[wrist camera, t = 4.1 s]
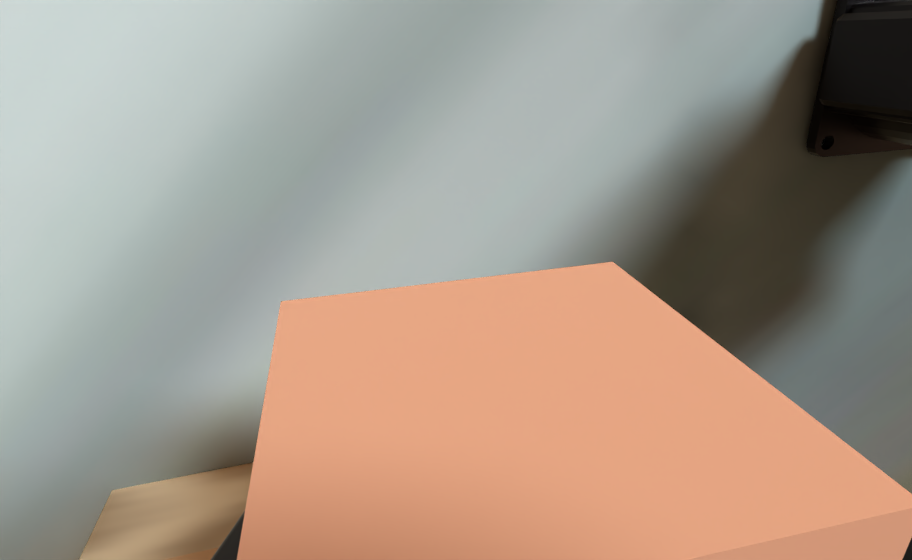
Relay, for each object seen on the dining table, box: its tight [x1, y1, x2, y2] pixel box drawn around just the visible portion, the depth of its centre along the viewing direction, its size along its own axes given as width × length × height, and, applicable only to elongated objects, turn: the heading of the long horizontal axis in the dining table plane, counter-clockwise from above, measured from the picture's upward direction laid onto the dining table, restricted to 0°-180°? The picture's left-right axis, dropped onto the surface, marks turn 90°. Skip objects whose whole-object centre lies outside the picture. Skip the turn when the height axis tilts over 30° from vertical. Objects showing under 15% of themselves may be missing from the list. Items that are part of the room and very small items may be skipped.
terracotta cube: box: [237, 262, 912, 560], centre depth 7 cm, size 5×5×5 cm
